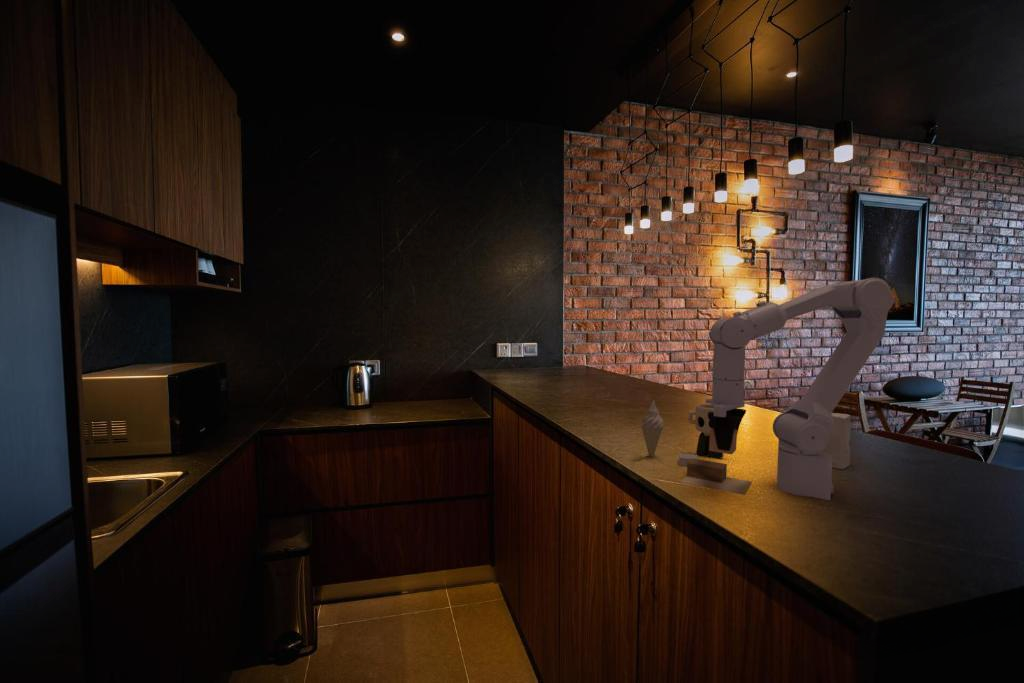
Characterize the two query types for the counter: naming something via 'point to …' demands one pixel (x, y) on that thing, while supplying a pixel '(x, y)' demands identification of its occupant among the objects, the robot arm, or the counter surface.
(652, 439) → the ice cream cone
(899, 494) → the counter surface
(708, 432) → the character mug
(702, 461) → the walnut bar
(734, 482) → the birch board
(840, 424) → the skincare box
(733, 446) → the terracotta cube
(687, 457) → the grey block
